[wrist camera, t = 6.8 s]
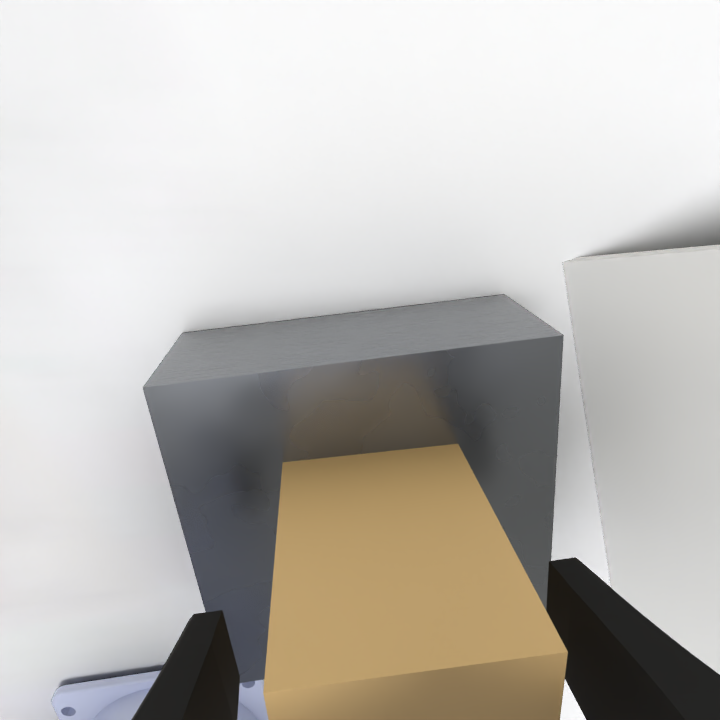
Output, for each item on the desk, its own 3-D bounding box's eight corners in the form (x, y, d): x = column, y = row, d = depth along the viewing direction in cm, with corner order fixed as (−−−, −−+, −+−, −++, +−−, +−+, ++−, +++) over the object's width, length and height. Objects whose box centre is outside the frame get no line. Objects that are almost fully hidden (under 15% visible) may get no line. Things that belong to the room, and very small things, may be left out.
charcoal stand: (501, 546, 20) (546, 635, 16) (242, 583, 19) (226, 685, 16) (504, 294, 16) (563, 335, 12) (182, 332, 16) (142, 387, 12)
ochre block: (456, 578, 15) (546, 829, 9) (301, 597, 15) (297, 869, 9) (458, 443, 13) (568, 651, 8) (282, 462, 13) (263, 693, 7)
